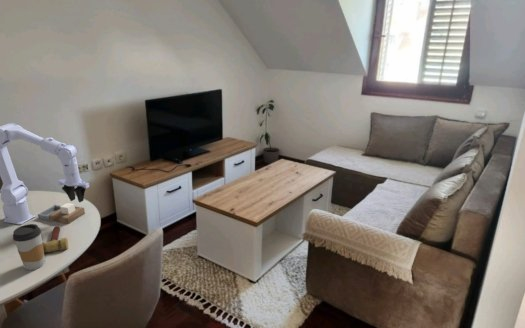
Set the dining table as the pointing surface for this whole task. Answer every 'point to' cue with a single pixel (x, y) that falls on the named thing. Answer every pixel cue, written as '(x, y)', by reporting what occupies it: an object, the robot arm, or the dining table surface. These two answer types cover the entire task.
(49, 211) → the tray
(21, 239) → the coffee cup
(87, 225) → the dining table surface
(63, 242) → the gavel
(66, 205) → the tile block
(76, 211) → the board
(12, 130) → the robot arm
